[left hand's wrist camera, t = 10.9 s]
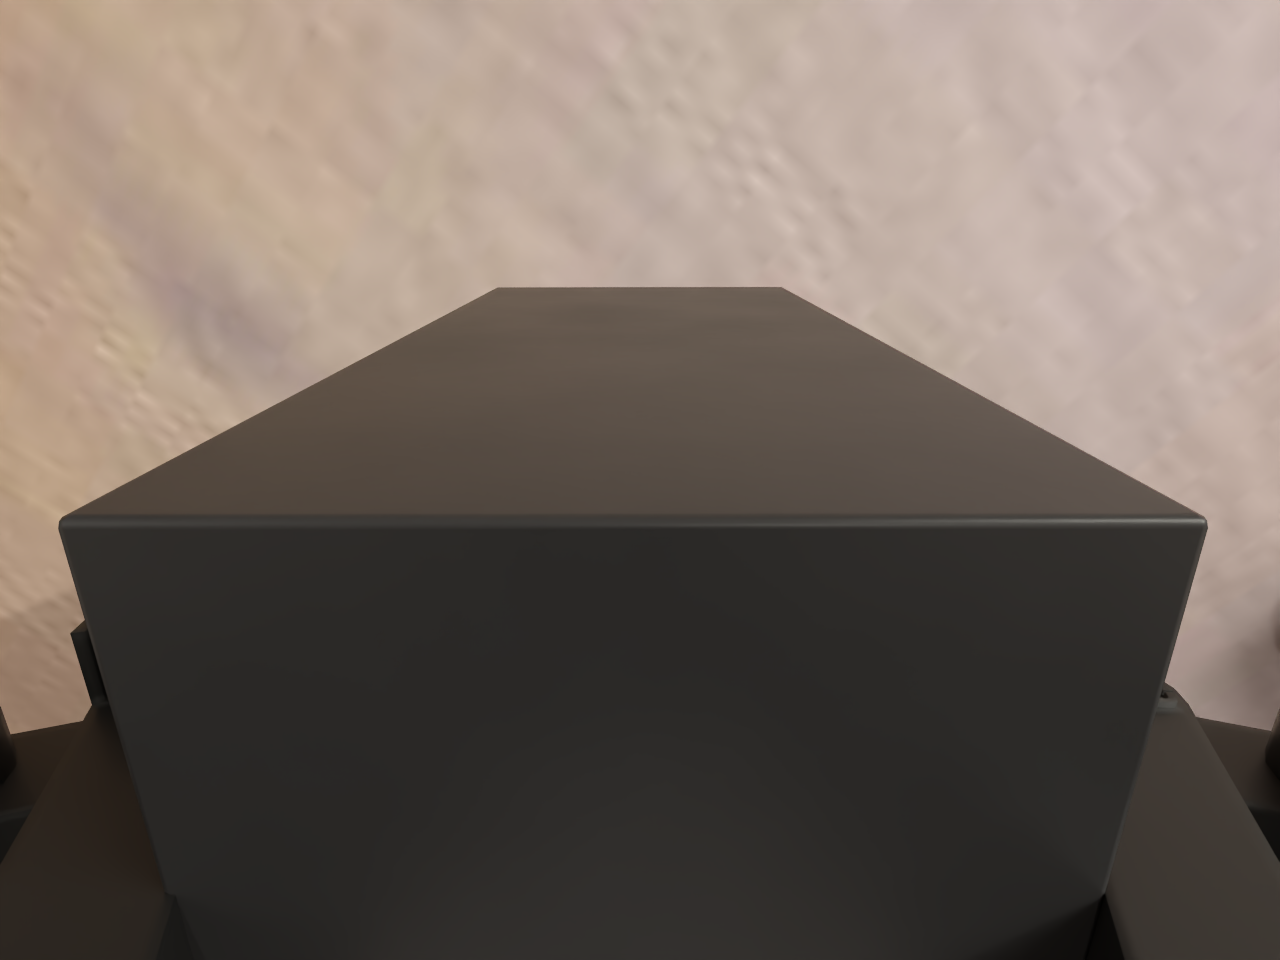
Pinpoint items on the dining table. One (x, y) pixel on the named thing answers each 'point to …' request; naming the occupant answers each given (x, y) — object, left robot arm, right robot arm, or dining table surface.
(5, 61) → the dining table surface
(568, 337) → the box
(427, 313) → the dining table surface
